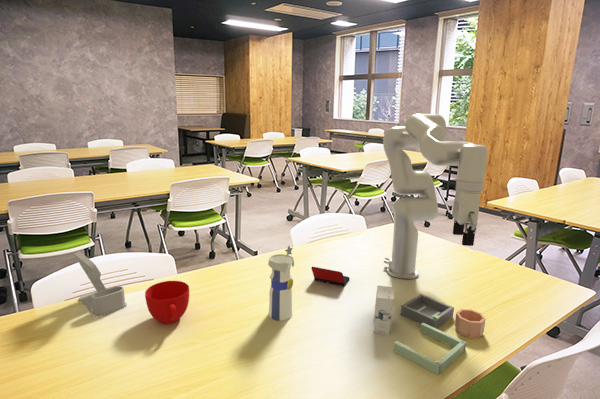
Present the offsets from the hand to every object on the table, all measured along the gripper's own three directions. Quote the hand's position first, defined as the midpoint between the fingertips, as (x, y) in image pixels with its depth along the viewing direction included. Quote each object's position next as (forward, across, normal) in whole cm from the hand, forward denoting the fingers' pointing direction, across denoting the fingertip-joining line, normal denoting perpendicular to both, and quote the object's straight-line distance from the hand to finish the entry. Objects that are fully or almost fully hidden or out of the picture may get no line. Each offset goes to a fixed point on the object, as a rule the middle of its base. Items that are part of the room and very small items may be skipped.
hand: (462, 239), depth 120 cm
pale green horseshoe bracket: (+26, +20, -12) cm, 35 cm away
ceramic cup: (+27, +15, -89) cm, 94 cm away
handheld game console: (+27, -20, -40) cm, 53 cm away
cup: (+26, +8, +2) cm, 28 cm away
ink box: (+27, +9, -24) cm, 37 cm away
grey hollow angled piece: (+27, +7, -117) cm, 120 cm away
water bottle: (+27, +6, -56) cm, 62 cm away
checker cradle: (+26, +1, -9) cm, 28 cm away
